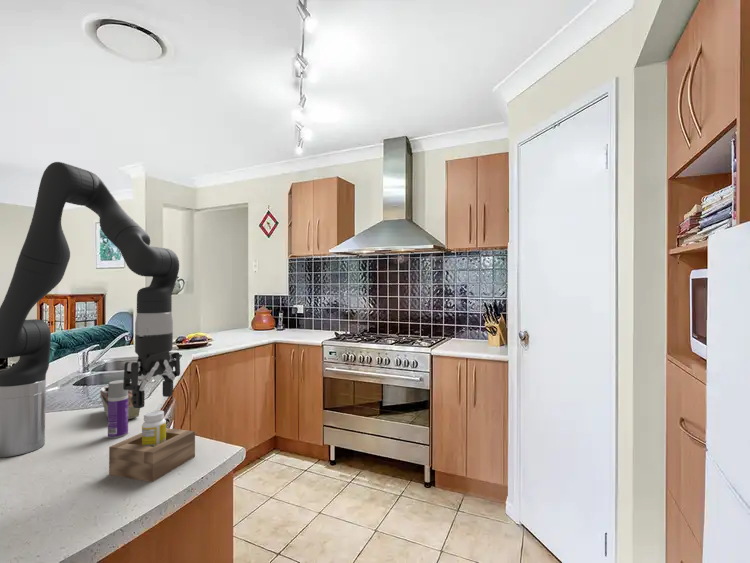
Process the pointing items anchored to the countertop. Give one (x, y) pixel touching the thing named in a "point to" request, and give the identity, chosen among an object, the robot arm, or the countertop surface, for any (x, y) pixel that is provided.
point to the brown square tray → (151, 455)
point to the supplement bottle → (153, 428)
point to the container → (117, 410)
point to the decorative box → (131, 410)
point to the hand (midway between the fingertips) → (153, 401)
